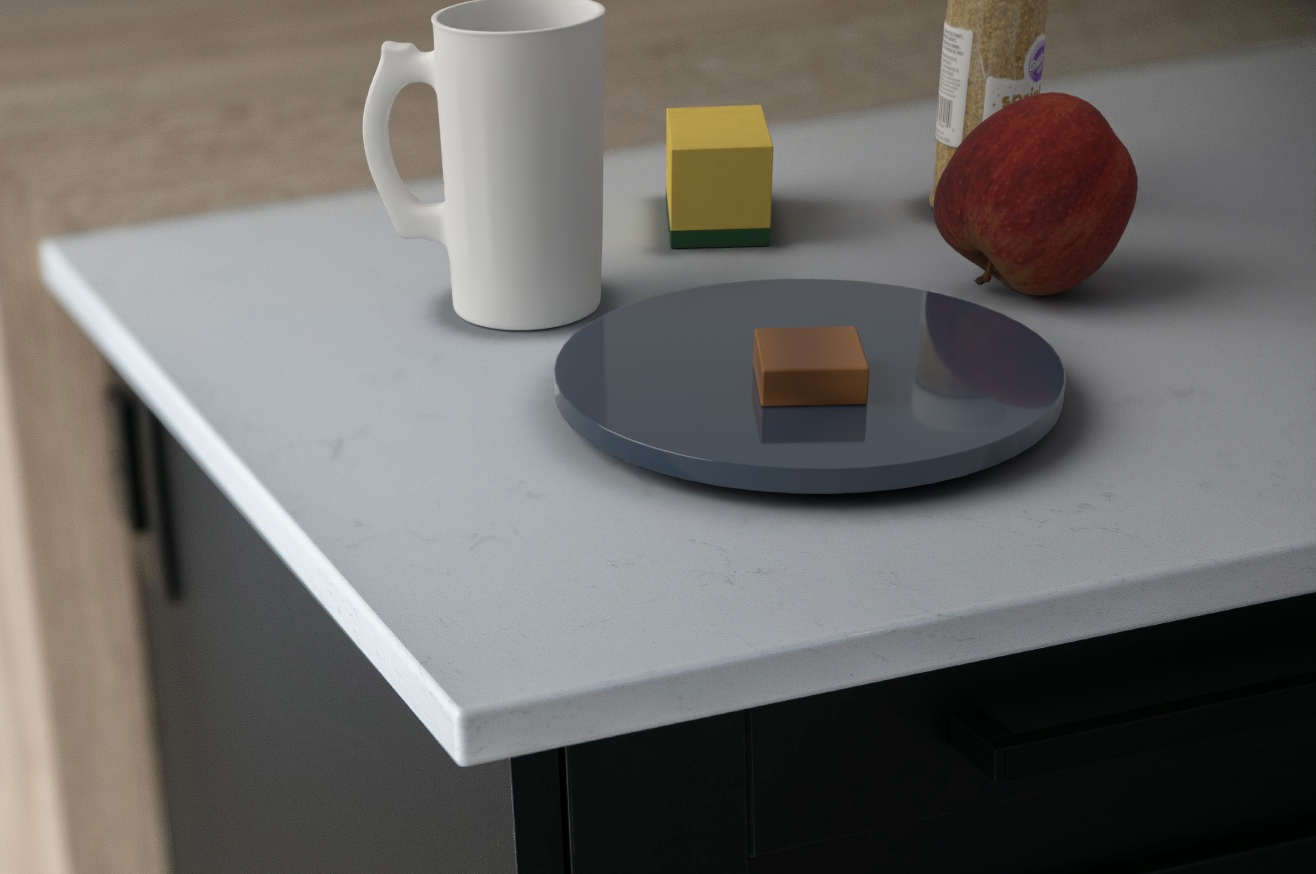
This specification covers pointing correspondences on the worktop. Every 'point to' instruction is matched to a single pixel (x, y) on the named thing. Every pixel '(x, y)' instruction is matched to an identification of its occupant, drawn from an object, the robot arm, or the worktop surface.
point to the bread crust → (810, 366)
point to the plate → (809, 437)
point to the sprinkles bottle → (985, 66)
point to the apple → (1038, 194)
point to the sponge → (718, 176)
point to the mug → (507, 156)
